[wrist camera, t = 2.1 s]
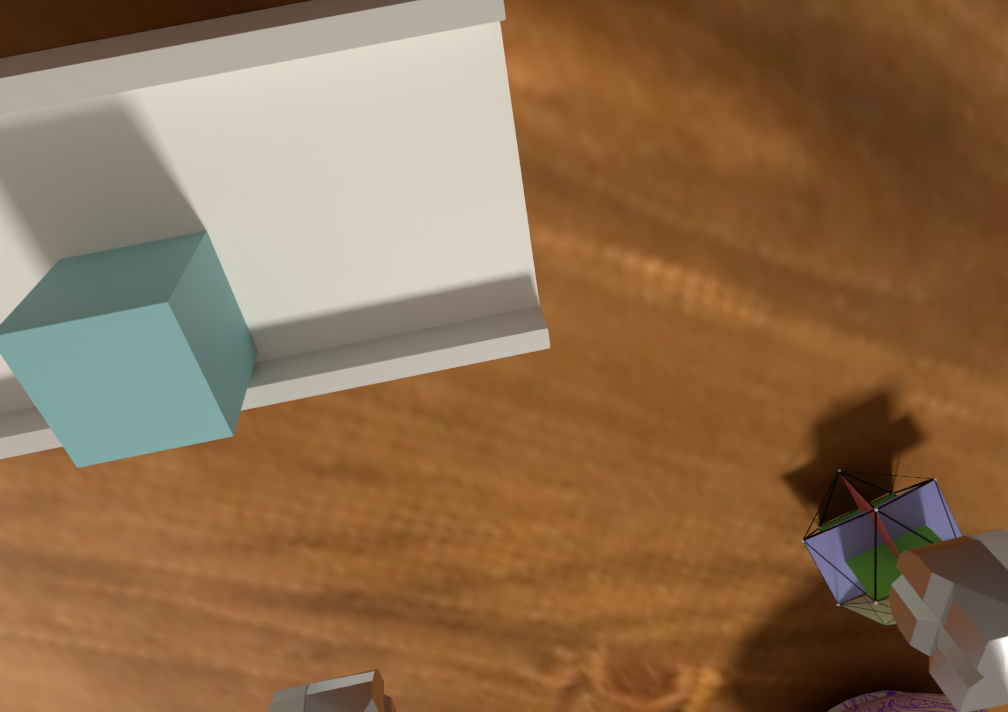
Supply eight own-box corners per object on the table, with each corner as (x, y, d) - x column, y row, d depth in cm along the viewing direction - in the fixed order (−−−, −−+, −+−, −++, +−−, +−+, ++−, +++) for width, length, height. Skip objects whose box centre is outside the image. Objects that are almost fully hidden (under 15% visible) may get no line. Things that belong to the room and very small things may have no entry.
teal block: (206, 230, 21) (168, 301, 18) (258, 351, 24) (233, 435, 20) (59, 259, 21) (-12, 337, 17) (126, 377, 24) (77, 467, 20)
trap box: (481, -32, 21) (500, -16, 17) (528, 286, 27) (550, 347, 24) (-535, 157, 20) (-743, 216, 16) (-248, 440, 26) (-353, 530, 23)
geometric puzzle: (778, 497, 33) (878, 667, 30) (919, 430, 32) (1037, 601, 29) (773, 501, 39) (855, 640, 37) (889, 445, 38) (983, 585, 35)
